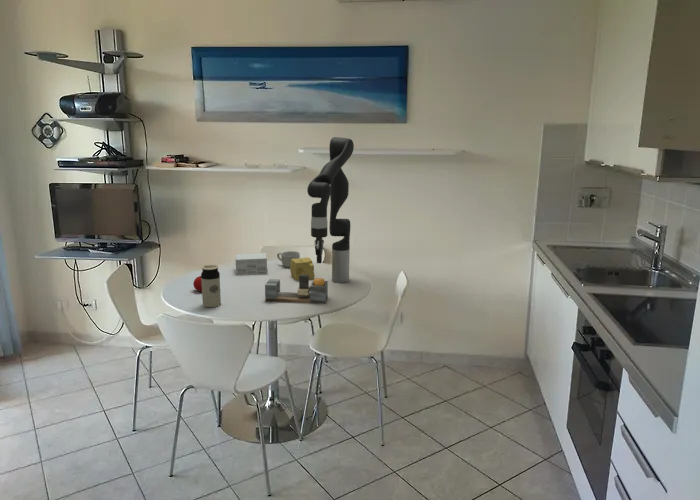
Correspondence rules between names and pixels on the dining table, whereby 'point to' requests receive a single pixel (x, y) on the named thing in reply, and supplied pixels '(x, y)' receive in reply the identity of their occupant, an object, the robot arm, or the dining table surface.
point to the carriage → (303, 285)
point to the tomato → (198, 284)
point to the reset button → (319, 282)
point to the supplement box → (251, 264)
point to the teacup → (288, 257)
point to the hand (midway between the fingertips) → (319, 262)
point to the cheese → (302, 268)
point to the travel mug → (210, 286)
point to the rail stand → (295, 293)
